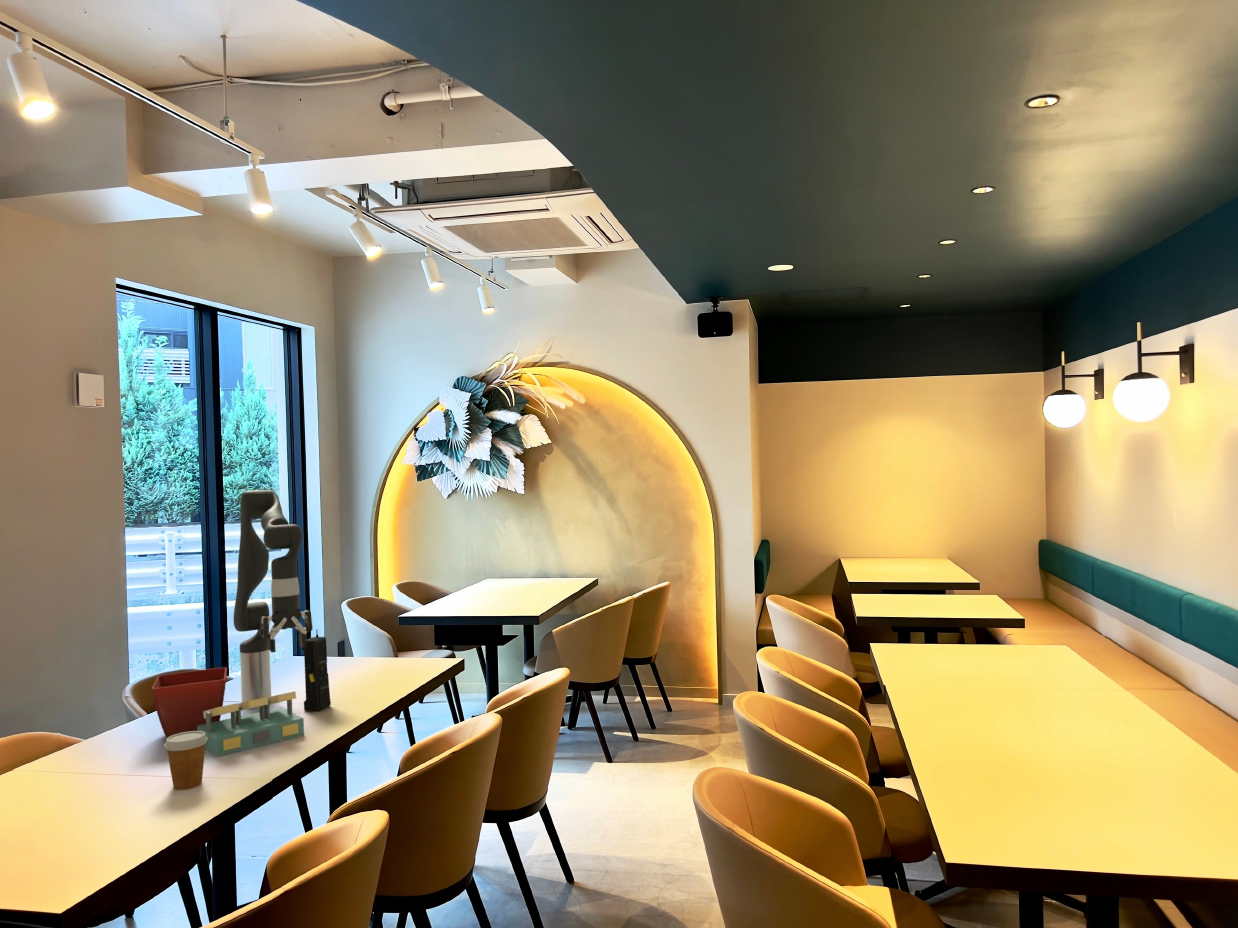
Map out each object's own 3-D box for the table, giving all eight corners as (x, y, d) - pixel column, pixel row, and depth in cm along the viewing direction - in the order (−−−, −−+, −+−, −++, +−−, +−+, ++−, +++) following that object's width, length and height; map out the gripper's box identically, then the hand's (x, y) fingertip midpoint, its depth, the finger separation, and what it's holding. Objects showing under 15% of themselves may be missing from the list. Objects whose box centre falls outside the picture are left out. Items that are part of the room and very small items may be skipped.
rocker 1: (203, 718, 244) (203, 711, 245) (222, 714, 248) (221, 707, 248) (219, 714, 234) (218, 706, 234) (238, 710, 237) (237, 702, 237)
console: (197, 742, 244) (196, 707, 244) (282, 723, 260) (280, 690, 261) (217, 756, 231) (215, 718, 232) (304, 735, 248) (303, 700, 248)
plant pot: (160, 729, 259) (158, 674, 259) (229, 720, 267) (227, 666, 267) (153, 747, 242) (151, 688, 242) (227, 736, 249) (225, 679, 249)
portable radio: (318, 712, 271) (315, 633, 271) (301, 712, 272) (298, 633, 272) (332, 705, 279) (329, 629, 279) (315, 705, 280) (312, 629, 280)
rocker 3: (261, 706, 255) (260, 699, 255) (278, 702, 258) (277, 695, 259) (278, 701, 244) (277, 694, 245) (296, 698, 248) (295, 691, 248)
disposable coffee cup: (176, 779, 215) (174, 731, 215) (215, 776, 216) (213, 729, 216) (158, 793, 206) (157, 743, 206) (200, 790, 206) (198, 740, 206)
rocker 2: (233, 712, 250) (232, 705, 250) (250, 708, 253) (250, 701, 253) (249, 707, 239) (249, 700, 239) (268, 704, 242) (267, 696, 243)
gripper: (304, 589, 256) (306, 643, 255) (255, 595, 246) (257, 652, 246) (314, 591, 250) (316, 646, 250) (265, 597, 241) (267, 655, 240)
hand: (287, 649), depth 248 cm, fingers open, 8 cm apart
